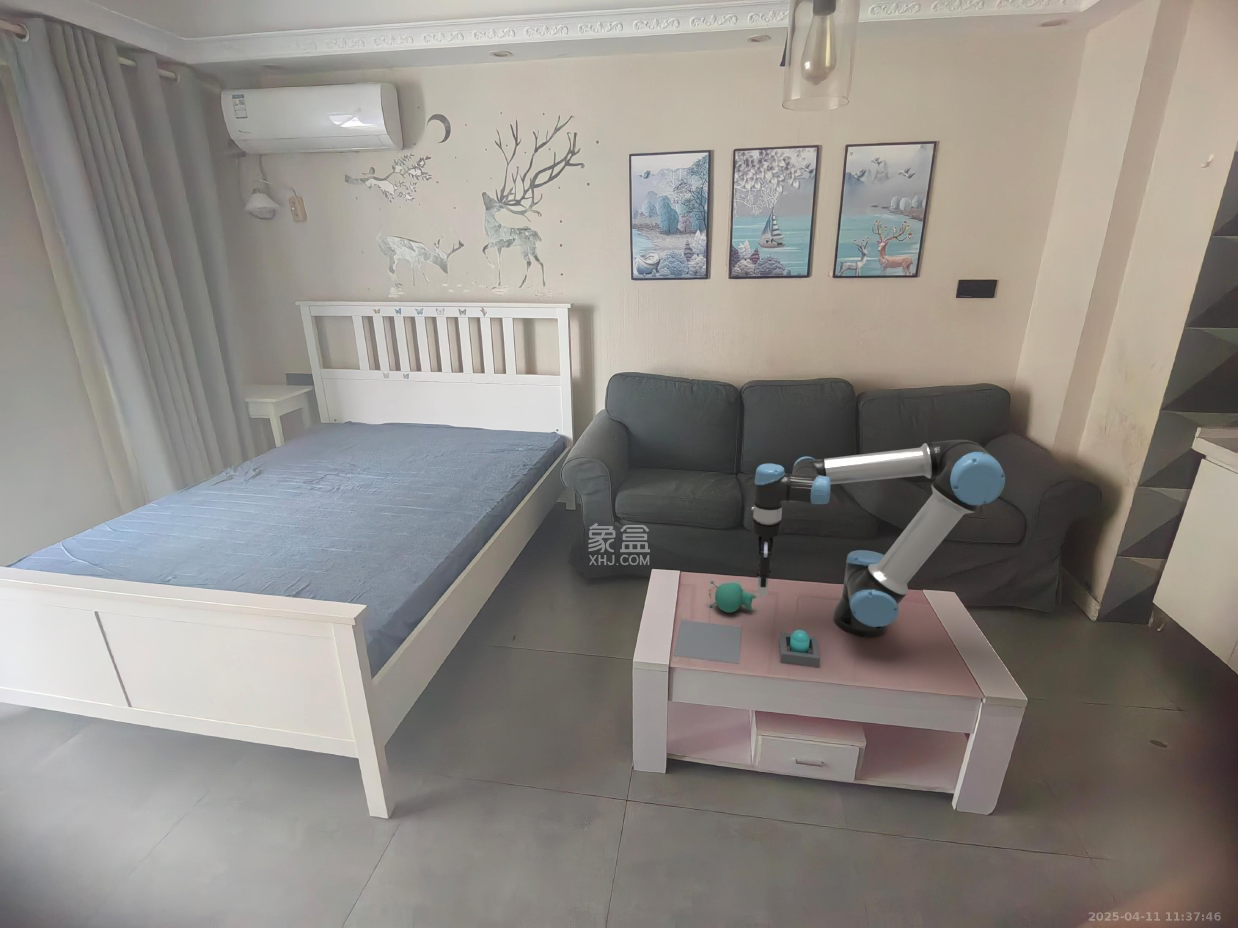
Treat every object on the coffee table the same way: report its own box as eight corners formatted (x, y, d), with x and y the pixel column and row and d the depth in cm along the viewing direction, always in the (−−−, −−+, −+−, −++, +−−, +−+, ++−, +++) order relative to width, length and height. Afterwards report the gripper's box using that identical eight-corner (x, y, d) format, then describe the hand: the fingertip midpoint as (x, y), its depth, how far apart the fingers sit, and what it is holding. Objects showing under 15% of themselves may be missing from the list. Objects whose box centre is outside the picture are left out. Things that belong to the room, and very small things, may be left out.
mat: (741, 627, 184) (741, 626, 183) (739, 664, 167) (739, 663, 167) (681, 620, 187) (681, 619, 187) (673, 656, 171) (673, 655, 170)
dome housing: (815, 645, 175) (816, 636, 174) (818, 667, 165) (819, 658, 164) (779, 641, 177) (780, 632, 176) (780, 663, 167) (781, 653, 166)
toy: (759, 588, 195) (713, 574, 199) (757, 587, 185) (709, 573, 190) (751, 619, 193) (705, 604, 198) (749, 620, 184) (701, 605, 189)
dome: (807, 648, 173) (809, 627, 170) (808, 659, 168) (811, 637, 166) (789, 646, 174) (791, 625, 171) (789, 656, 169) (791, 635, 167)
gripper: (753, 509, 176) (749, 582, 183) (752, 528, 164) (748, 605, 171) (780, 511, 174) (775, 584, 182) (781, 530, 162) (776, 607, 170)
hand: (762, 594), depth 176 cm, fingers closed
